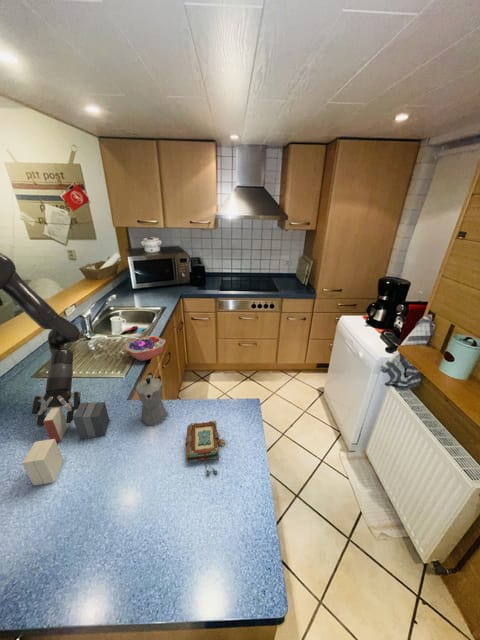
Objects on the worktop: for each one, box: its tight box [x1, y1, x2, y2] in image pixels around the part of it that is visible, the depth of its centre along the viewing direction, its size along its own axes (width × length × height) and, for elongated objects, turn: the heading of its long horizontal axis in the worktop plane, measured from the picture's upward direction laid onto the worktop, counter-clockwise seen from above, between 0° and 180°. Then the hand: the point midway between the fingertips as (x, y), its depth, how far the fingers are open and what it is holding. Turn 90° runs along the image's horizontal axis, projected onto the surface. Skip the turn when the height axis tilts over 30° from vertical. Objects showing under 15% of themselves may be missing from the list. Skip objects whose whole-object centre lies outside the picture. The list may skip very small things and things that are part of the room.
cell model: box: [125, 335, 166, 362], centre depth 134 cm, size 17×20×11 cm
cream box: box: [21, 438, 64, 486], centre depth 75 cm, size 5×7×10 cm
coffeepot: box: [135, 372, 167, 426], centre depth 95 cm, size 15×9×18 cm, turn 16°
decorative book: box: [185, 420, 226, 476], centre depth 84 cm, size 13×18×5 cm
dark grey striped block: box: [73, 401, 110, 440], centre depth 90 cm, size 8×7×10 cm
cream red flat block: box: [43, 406, 69, 444], centre depth 87 cm, size 3×7×10 cm, turn 12°
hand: (55, 424), depth 86 cm, fingers open, 8 cm apart
